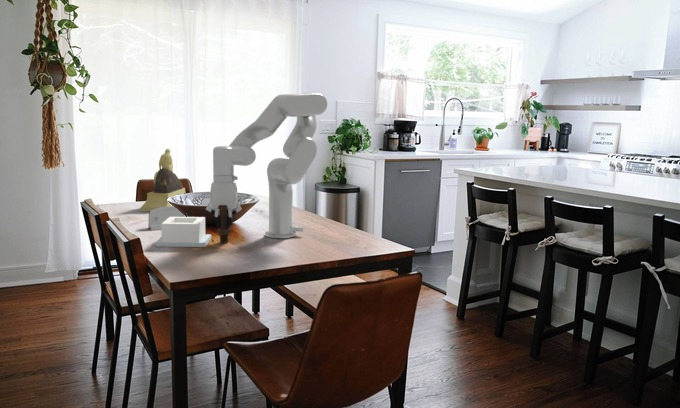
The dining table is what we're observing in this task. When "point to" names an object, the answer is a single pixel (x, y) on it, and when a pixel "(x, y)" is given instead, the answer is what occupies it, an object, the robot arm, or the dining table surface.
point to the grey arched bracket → (162, 216)
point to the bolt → (223, 224)
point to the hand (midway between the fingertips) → (224, 226)
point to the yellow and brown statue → (163, 185)
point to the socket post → (183, 232)
